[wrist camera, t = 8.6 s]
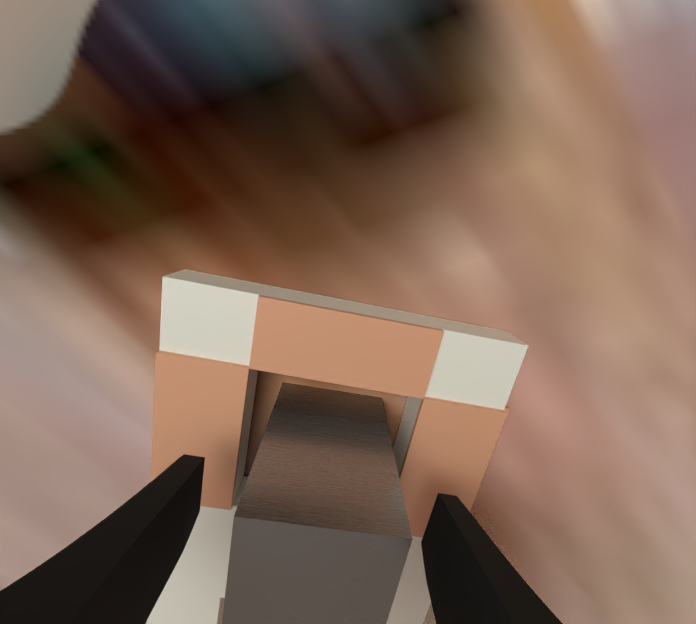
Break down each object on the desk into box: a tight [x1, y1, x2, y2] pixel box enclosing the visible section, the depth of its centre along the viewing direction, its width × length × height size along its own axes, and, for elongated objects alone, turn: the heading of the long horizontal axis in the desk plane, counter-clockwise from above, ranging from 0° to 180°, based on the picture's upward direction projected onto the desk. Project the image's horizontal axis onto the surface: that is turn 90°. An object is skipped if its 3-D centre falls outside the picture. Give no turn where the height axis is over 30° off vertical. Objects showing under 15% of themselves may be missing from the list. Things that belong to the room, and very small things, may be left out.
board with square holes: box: [147, 269, 528, 624], centre depth 14 cm, size 12×22×2 cm, turn 169°
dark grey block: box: [222, 382, 413, 624], centre depth 11 cm, size 4×4×6 cm
